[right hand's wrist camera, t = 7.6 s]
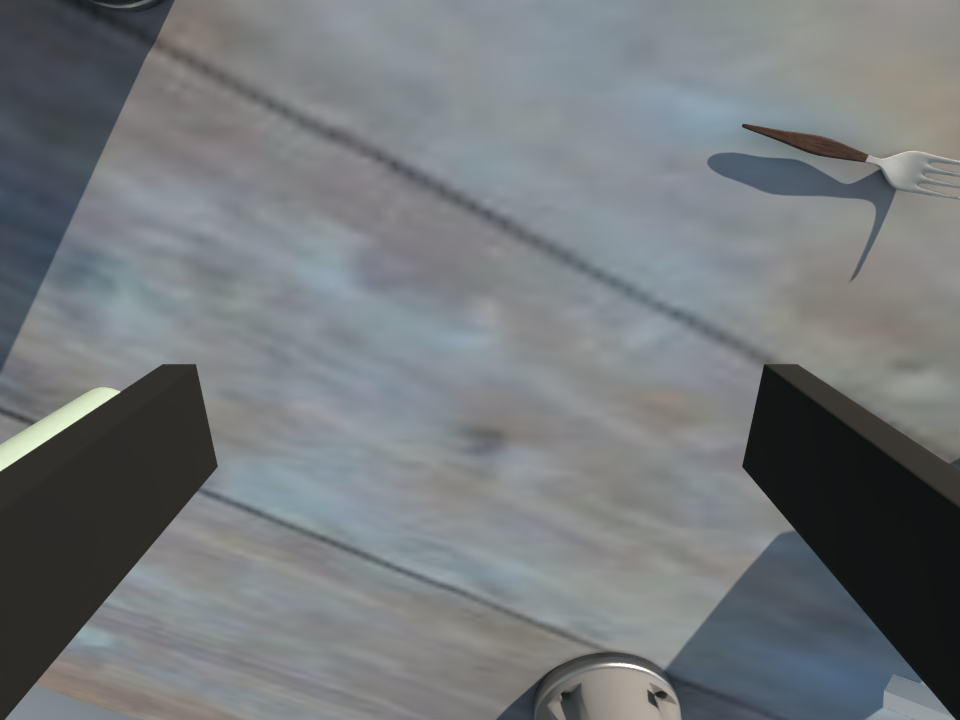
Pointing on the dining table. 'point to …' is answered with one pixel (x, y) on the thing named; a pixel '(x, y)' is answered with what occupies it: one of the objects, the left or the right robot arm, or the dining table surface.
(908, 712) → the white plastic object
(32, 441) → the bottle
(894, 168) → the fork
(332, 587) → the dining table surface
